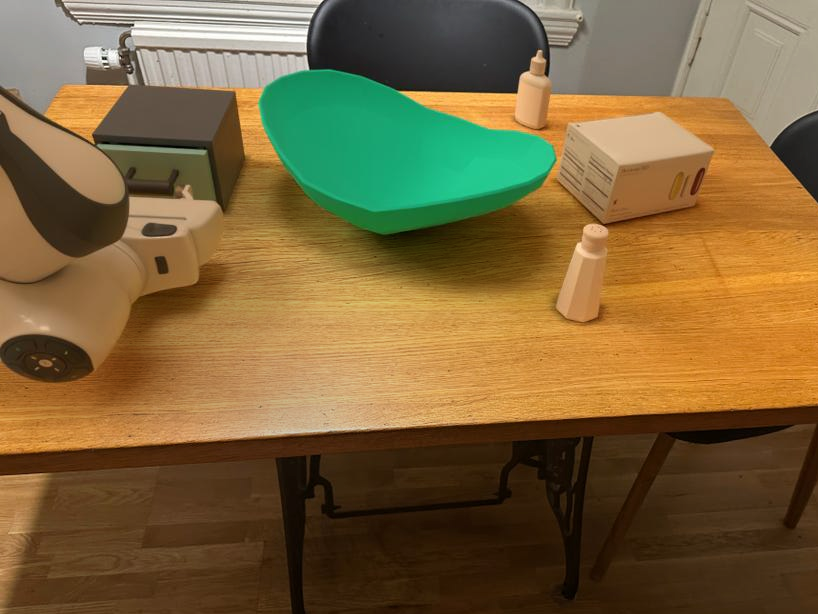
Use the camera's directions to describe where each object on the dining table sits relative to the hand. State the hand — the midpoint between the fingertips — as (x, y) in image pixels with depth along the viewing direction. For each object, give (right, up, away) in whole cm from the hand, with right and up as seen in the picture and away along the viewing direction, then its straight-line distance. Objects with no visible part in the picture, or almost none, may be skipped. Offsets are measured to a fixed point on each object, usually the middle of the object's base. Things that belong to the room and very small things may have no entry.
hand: (144, 187), depth 81 cm
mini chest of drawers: (-1, +4, +14) cm, 15 cm away
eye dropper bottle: (+48, +20, +38) cm, 64 cm away
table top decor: (+29, -1, +13) cm, 32 cm away
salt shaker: (+51, -14, +2) cm, 53 cm away
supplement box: (+61, +5, +23) cm, 65 cm away
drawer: (-1, +2, +10) cm, 10 cm away
